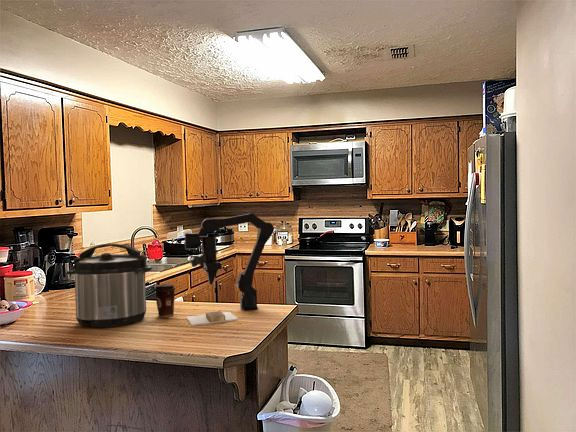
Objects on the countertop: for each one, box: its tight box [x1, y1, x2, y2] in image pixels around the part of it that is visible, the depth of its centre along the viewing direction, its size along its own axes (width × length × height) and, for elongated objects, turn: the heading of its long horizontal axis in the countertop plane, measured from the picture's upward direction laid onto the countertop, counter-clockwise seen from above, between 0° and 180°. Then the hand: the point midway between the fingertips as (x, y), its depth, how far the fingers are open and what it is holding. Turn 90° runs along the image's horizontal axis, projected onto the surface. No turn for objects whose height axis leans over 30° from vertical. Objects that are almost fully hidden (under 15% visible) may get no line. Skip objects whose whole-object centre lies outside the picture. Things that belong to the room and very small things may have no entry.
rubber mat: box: [185, 311, 239, 327], centre depth 192 cm, size 18×14×1 cm
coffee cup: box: [153, 283, 176, 318], centre depth 202 cm, size 9×8×13 cm
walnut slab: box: [205, 310, 225, 322], centre depth 189 cm, size 6×2×8 cm
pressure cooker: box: [66, 243, 153, 328], centre depth 196 cm, size 30×28×32 cm
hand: (211, 284), depth 204 cm, fingers closed
